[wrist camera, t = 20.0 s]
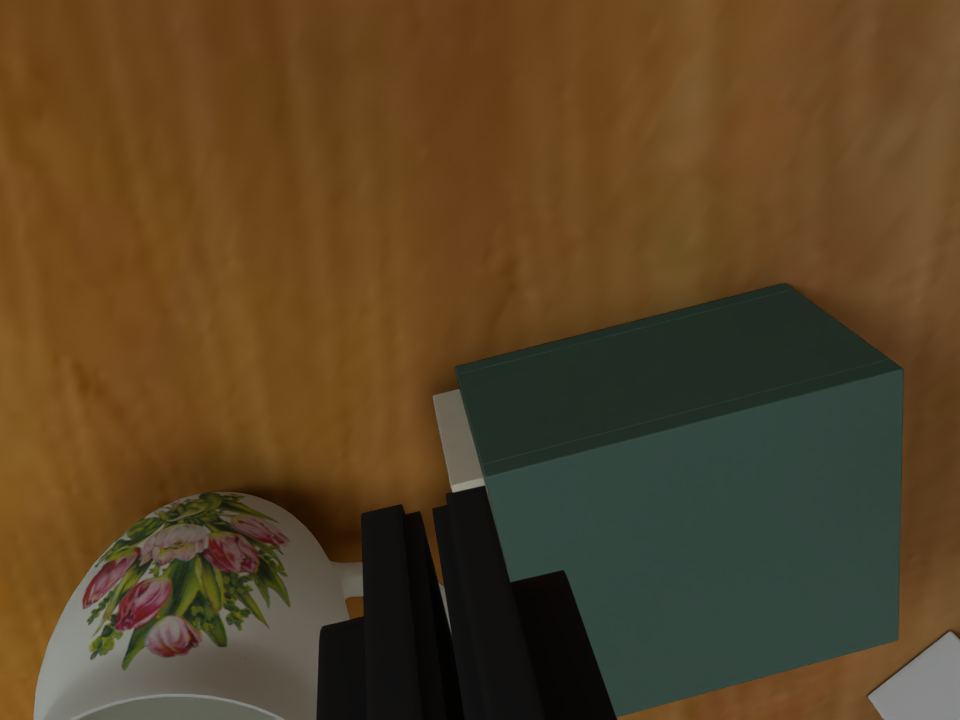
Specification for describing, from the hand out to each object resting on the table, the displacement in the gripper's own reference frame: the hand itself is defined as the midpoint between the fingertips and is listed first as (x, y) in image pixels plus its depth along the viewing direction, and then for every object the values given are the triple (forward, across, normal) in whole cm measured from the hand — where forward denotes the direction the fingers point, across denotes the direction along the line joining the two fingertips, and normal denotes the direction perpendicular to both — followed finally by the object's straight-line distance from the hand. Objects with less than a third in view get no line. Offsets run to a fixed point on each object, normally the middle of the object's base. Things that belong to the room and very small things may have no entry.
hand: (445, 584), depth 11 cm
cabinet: (+23, -9, +15) cm, 29 cm away
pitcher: (+23, +10, +16) cm, 29 cm away
